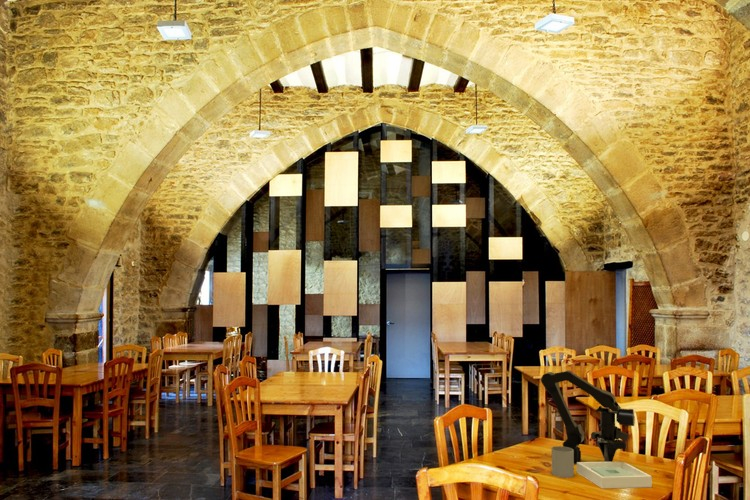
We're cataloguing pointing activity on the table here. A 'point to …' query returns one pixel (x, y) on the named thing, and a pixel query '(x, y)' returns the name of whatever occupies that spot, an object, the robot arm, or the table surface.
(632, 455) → the table surface
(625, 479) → the tray
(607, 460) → the peg
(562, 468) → the cup
